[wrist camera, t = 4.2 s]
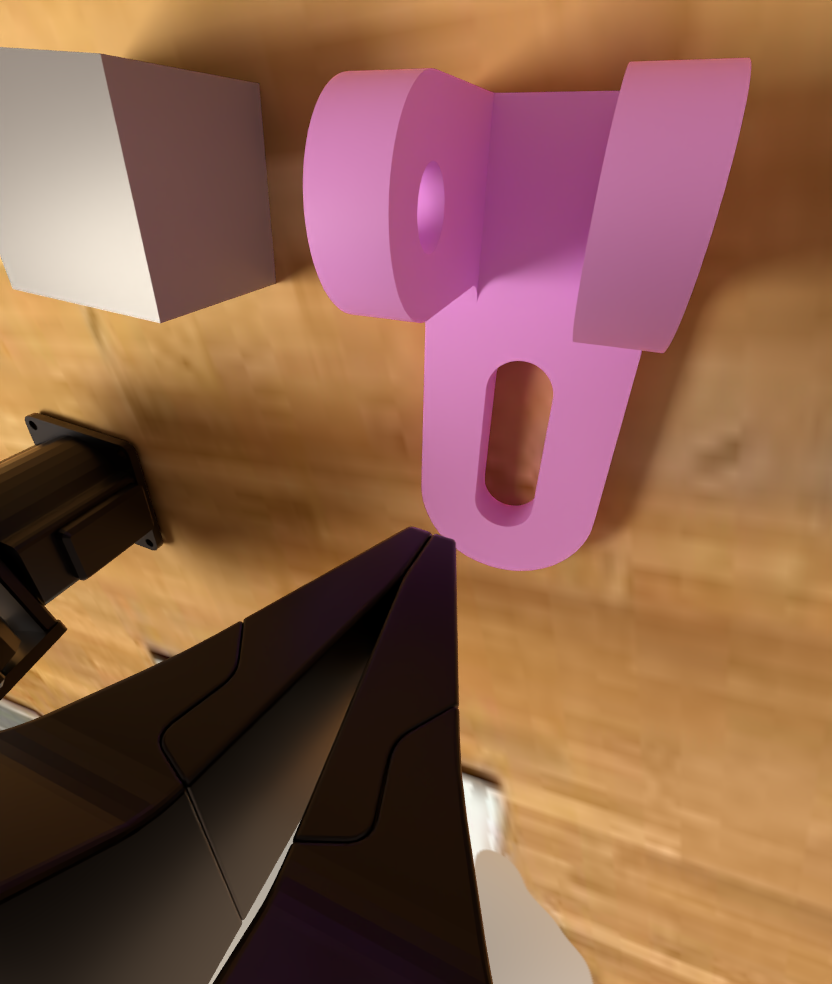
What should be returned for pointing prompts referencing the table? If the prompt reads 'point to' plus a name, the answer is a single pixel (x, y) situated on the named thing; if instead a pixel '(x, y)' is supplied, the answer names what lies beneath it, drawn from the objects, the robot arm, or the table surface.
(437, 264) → the bracket
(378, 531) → the table surface
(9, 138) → the grey cube
